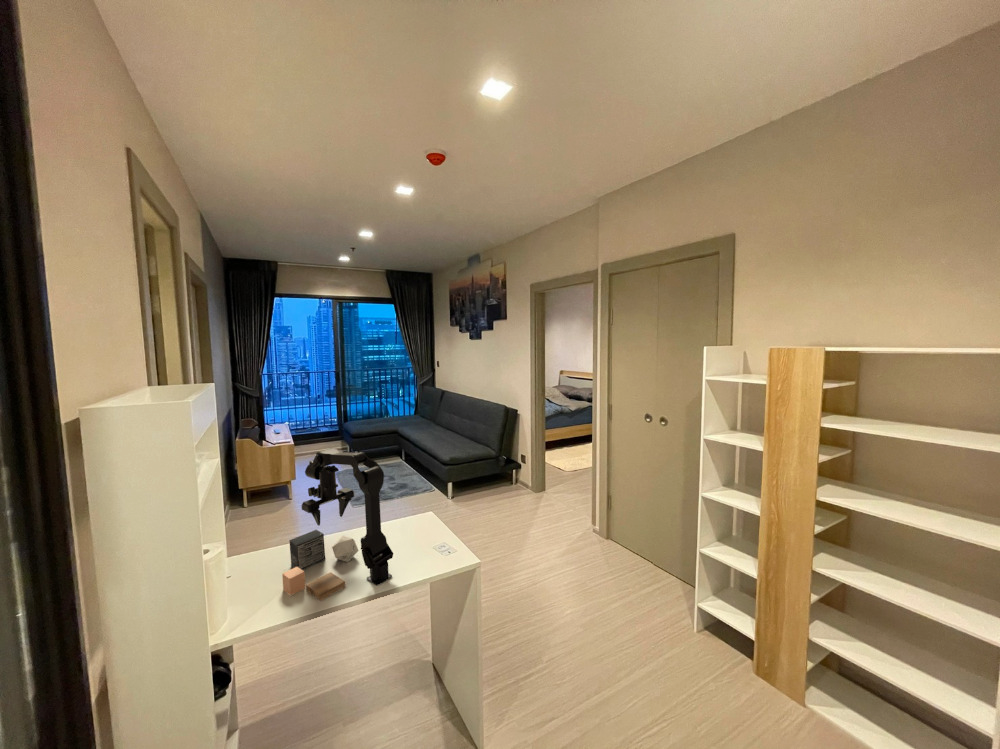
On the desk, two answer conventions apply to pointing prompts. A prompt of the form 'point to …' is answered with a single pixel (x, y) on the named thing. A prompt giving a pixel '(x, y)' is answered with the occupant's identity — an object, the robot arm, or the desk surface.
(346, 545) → the die
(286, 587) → the terracotta cube
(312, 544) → the small box
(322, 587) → the walnut slab
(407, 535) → the desk surface
